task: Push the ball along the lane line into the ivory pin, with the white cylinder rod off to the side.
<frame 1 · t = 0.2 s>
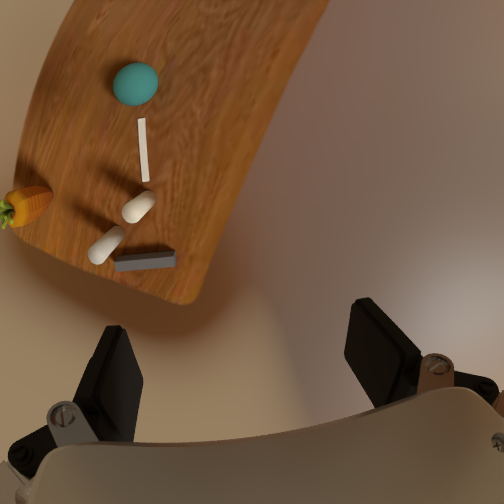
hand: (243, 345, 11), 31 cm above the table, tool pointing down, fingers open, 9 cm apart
carrot: (52, 194, 35), on the table
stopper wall: (146, 257, 41), on the table
ivory pin: (148, 198, 38), on the table
ball: (135, 84, 29), on the table
lane line: (143, 149, 35), on the table
white cylinder rod: (117, 233, 39), on the table
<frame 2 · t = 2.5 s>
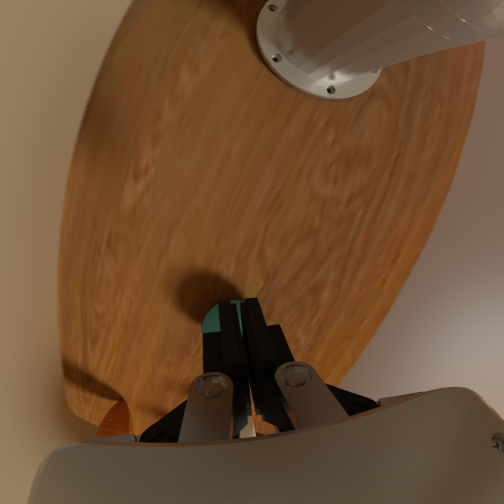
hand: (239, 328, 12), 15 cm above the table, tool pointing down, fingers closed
carrot: (123, 399, 32), on the table
ivory pin: (241, 408, 35), on the table
ball: (233, 331, 26), on the table
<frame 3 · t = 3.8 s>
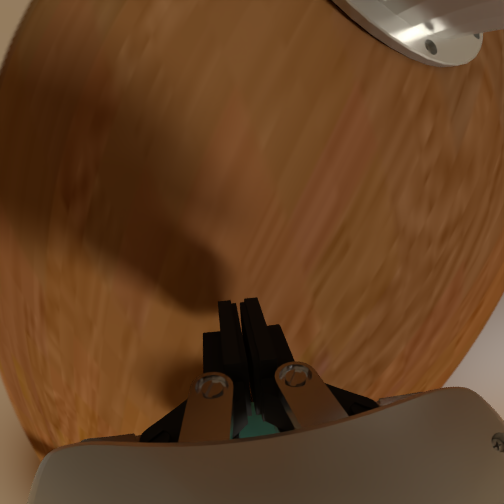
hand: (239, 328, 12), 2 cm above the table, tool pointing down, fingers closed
ball: (255, 447, 14), on the table
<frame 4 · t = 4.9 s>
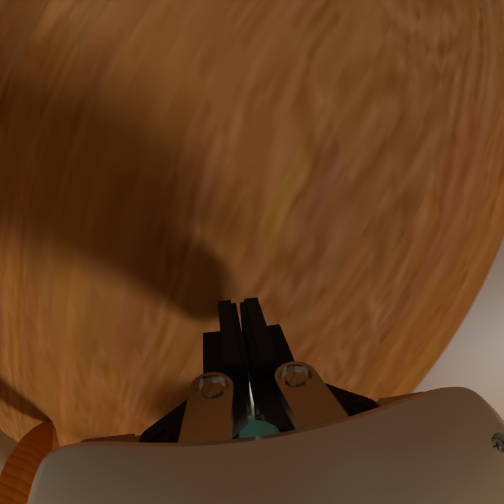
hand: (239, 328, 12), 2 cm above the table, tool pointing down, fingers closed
carrot: (51, 420, 15), on the table
ball: (247, 461, 14), on the table
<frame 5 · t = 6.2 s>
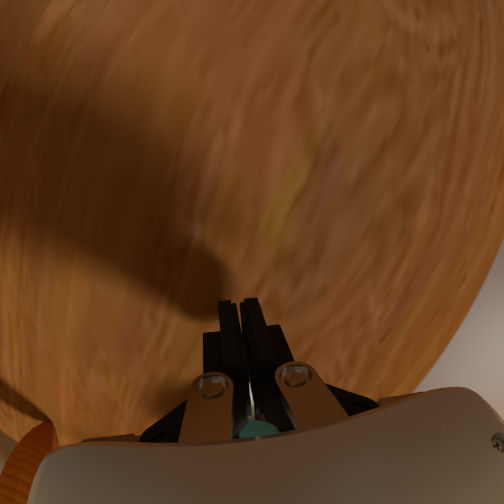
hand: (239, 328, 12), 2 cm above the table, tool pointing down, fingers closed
carrot: (51, 420, 15), on the table
ball: (247, 462, 14), on the table
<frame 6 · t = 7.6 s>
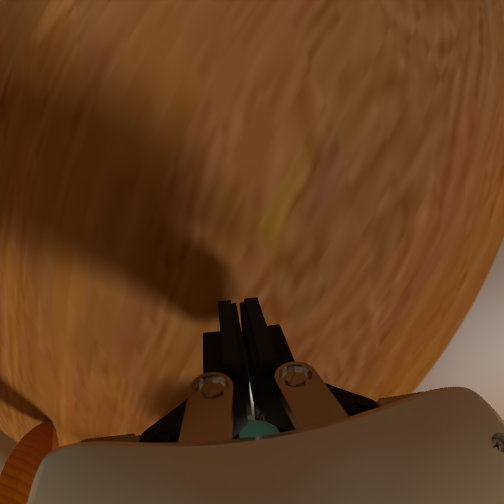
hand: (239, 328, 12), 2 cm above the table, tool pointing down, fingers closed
carrot: (51, 420, 15), on the table
ball: (247, 462, 14), on the table
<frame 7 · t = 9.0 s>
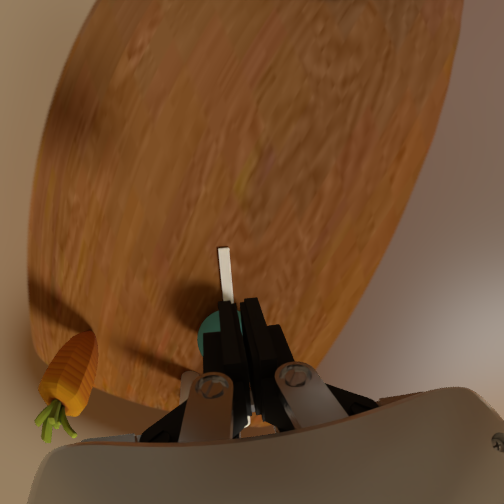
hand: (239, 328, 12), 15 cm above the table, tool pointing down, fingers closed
carrot: (92, 331, 28), on the table
ball: (228, 339, 27), on the table
lane line: (227, 290, 28), on the table
white cylinder rod: (191, 377, 31), on the table
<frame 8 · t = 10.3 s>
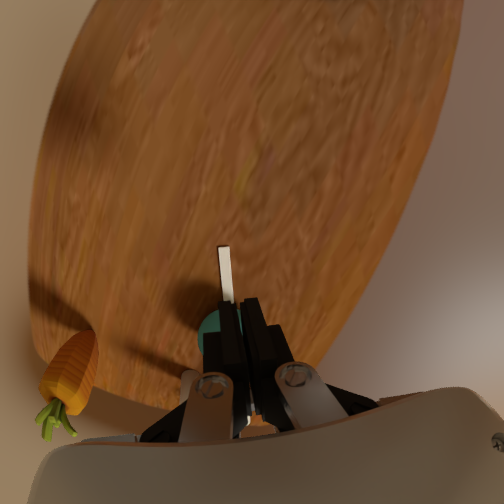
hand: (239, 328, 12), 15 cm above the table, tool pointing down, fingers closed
carrot: (92, 330, 28), on the table
ball: (228, 338, 27), on the table
lane line: (227, 289, 28), on the table
white cylinder rod: (191, 376, 32), on the table
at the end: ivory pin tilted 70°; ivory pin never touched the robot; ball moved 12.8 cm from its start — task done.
